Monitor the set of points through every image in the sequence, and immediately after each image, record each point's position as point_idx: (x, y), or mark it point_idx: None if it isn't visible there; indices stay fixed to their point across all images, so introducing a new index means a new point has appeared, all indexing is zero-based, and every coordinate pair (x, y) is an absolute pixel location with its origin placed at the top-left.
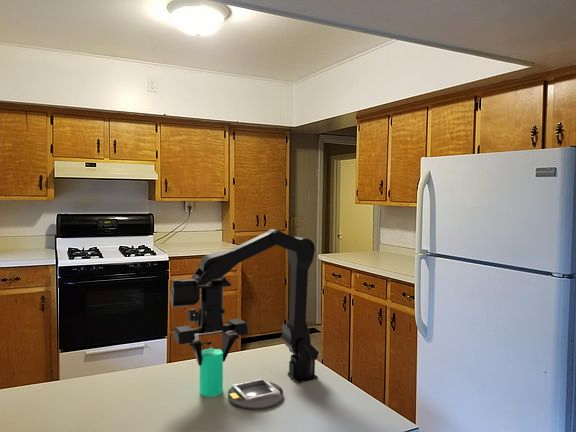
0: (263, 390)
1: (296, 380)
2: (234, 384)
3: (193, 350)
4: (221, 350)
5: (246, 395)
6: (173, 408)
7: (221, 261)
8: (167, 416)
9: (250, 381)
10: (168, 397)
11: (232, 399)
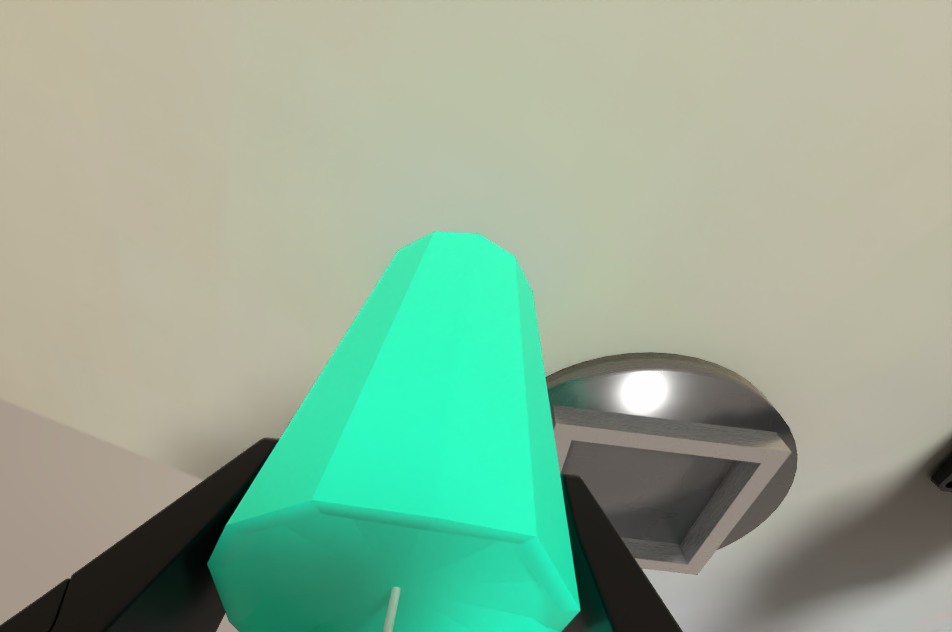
0: (675, 496)
1: (946, 472)
2: (572, 426)
3: (23, 617)
4: (572, 618)
5: None
6: (201, 362)
7: None
8: (172, 407)
9: (684, 444)
10: (169, 228)
11: None
